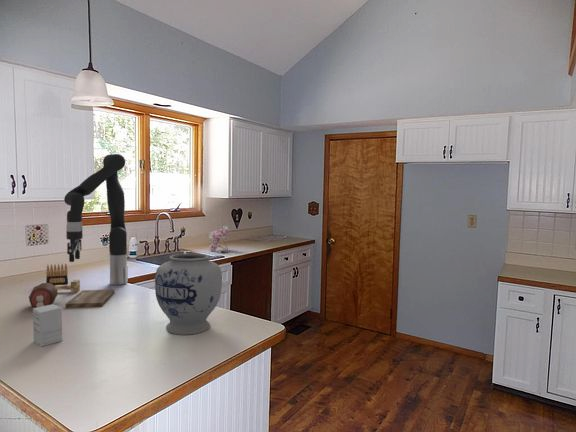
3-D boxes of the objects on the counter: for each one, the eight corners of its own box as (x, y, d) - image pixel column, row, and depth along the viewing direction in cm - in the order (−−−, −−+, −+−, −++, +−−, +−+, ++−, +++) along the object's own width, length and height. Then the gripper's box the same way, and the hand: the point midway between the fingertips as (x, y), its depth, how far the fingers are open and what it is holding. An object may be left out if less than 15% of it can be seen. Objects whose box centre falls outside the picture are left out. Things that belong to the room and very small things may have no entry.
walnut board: (114, 293, 210) (114, 289, 210) (102, 306, 186) (102, 302, 186) (82, 294, 207) (82, 290, 207) (65, 307, 183) (65, 303, 183)
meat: (54, 311, 178) (54, 289, 177) (24, 314, 174) (23, 292, 173) (60, 299, 196) (59, 279, 195) (33, 301, 192) (32, 281, 191)
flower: (228, 247, 366) (217, 223, 360) (240, 248, 347) (228, 223, 341) (210, 258, 355) (198, 234, 349) (221, 259, 337) (209, 234, 331)
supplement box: (54, 336, 150) (54, 303, 149) (62, 341, 145) (62, 307, 144) (32, 341, 144) (32, 307, 143) (40, 347, 139) (39, 312, 139)
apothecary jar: (154, 319, 171) (154, 251, 168) (215, 314, 180) (215, 249, 178) (156, 343, 146) (156, 263, 143) (227, 335, 155) (228, 260, 153)
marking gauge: (80, 290, 214) (80, 279, 213) (77, 292, 209) (77, 281, 208) (56, 290, 211) (56, 279, 211) (53, 293, 206) (52, 282, 206)
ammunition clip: (46, 285, 222) (45, 264, 221) (46, 284, 223) (46, 264, 222) (67, 284, 226) (67, 263, 225) (68, 283, 228) (67, 263, 227)
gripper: (77, 231, 202) (77, 262, 203) (86, 228, 216) (86, 257, 217) (61, 231, 201) (61, 262, 202) (71, 228, 215) (71, 257, 216)
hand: (74, 260), depth 210 cm, fingers open, 8 cm apart
